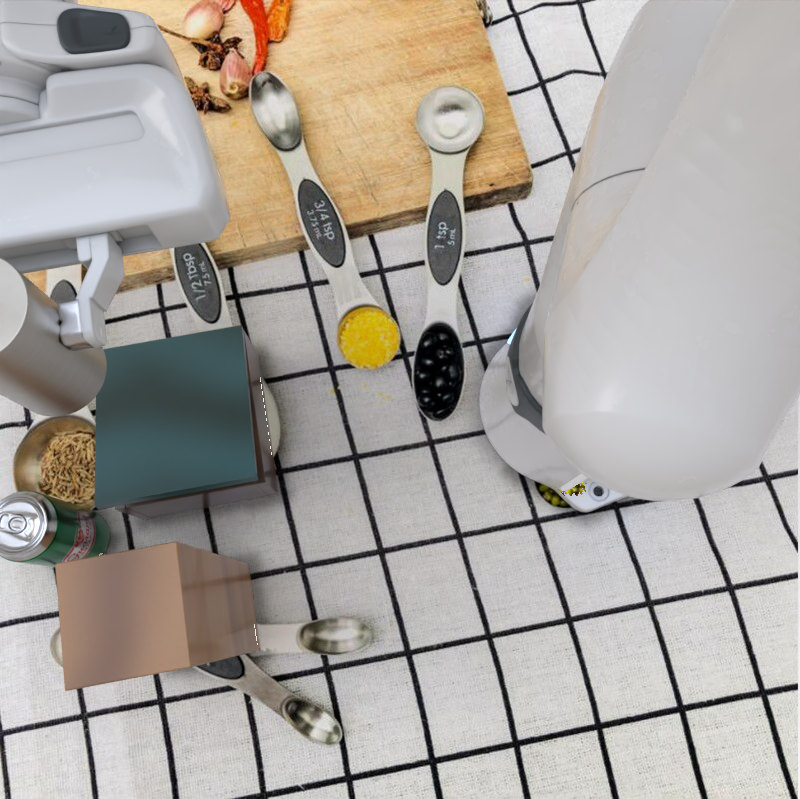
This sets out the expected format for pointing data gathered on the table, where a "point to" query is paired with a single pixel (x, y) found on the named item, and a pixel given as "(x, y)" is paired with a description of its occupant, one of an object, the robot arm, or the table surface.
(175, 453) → the hatch
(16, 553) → the soda can
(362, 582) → the table surface
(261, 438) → the chest
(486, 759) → the table surface
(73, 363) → the tin
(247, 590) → the stand
